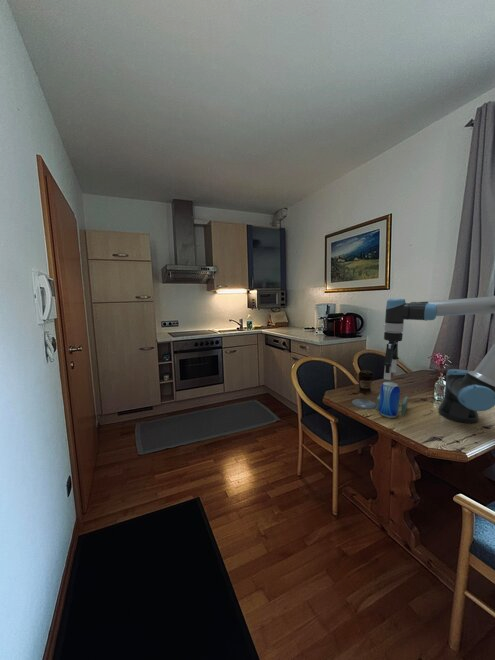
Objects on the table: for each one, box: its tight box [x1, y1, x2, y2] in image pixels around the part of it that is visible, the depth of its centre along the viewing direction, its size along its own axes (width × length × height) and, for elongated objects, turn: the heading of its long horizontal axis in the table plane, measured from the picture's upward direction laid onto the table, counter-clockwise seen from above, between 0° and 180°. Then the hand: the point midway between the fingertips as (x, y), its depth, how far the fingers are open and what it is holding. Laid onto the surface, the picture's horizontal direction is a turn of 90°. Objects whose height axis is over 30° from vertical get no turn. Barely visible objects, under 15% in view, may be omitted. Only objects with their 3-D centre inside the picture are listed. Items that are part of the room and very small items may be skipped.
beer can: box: [378, 381, 401, 419], centre depth 127 cm, size 8×8×16 cm
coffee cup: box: [358, 370, 374, 394], centre depth 157 cm, size 9×8×13 cm
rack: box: [375, 394, 409, 417], centre depth 135 cm, size 12×13×6 cm
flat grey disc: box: [351, 398, 377, 410], centre depth 141 cm, size 12×12×1 cm
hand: (390, 375), depth 124 cm, fingers open, 13 cm apart
